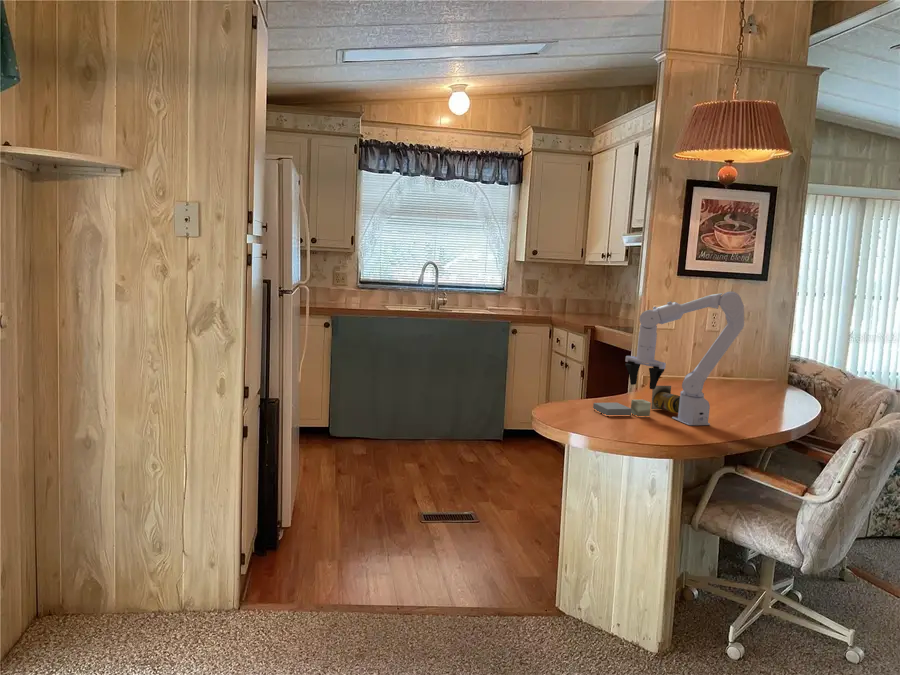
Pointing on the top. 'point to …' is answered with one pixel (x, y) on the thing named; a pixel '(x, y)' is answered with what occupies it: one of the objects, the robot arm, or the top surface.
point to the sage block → (640, 407)
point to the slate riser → (612, 408)
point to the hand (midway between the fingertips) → (642, 386)
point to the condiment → (665, 399)
